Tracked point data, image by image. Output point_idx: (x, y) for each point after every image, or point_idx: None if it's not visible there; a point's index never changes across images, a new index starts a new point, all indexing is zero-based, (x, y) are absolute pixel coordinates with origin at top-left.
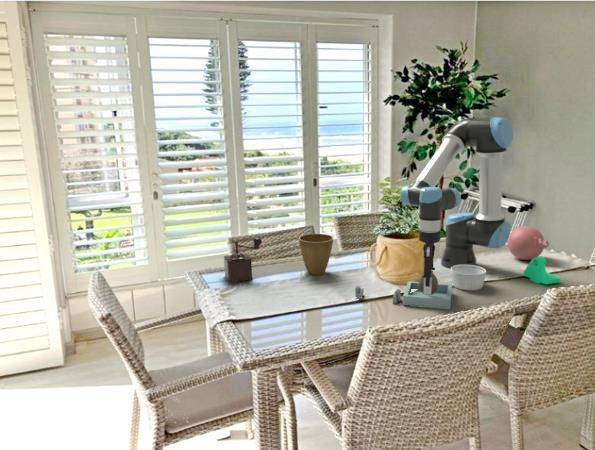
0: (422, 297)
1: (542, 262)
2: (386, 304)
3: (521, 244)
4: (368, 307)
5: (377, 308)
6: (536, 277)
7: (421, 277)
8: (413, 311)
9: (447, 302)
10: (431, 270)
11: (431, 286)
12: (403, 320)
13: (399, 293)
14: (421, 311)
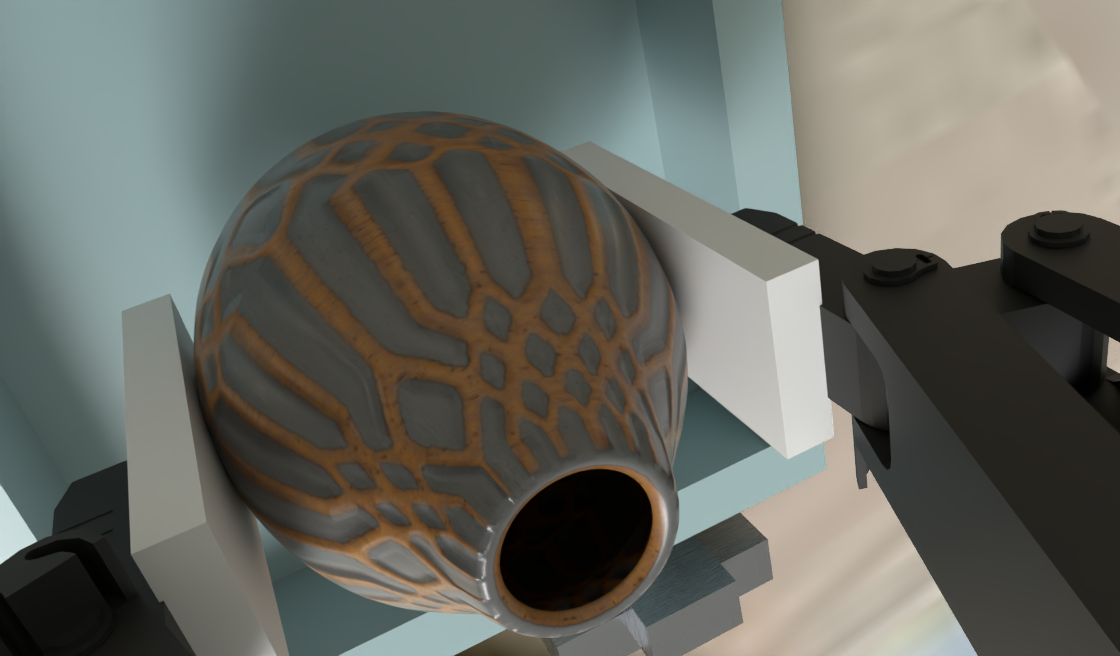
0: (798, 207)
1: None
2: (774, 553)
3: None
4: (897, 623)
5: (898, 550)
6: None
7: (617, 539)
8: (872, 197)
9: None
10: (949, 372)
11: (637, 197)
12: (1111, 176)
13: (720, 567)
14: (845, 106)
